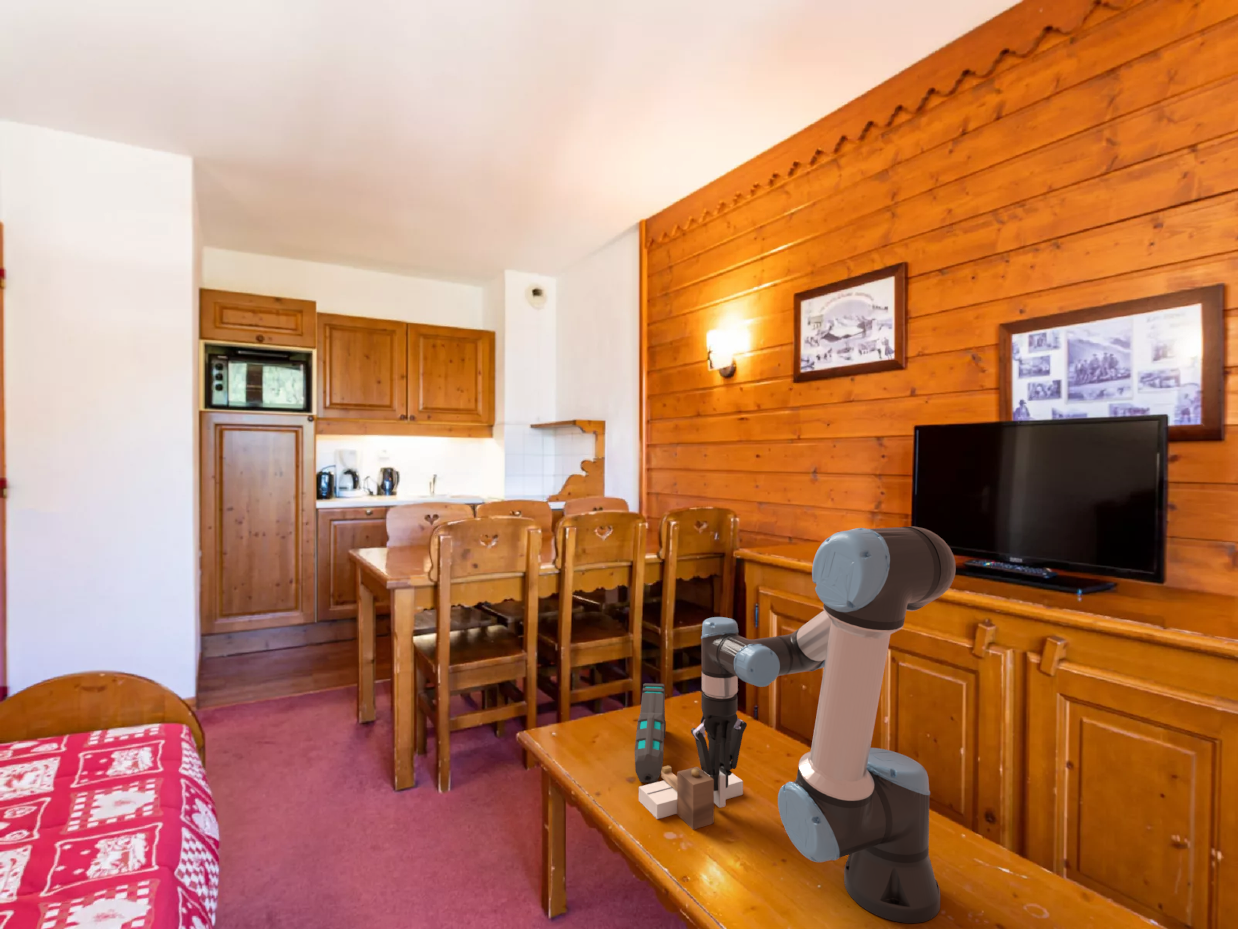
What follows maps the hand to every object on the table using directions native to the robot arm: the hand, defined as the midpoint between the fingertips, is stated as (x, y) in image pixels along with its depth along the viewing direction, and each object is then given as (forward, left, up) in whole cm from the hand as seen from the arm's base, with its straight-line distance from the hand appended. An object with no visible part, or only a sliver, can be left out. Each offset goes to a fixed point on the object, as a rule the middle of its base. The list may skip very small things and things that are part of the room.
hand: (718, 803), depth 133 cm
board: (+7, +2, -2) cm, 8 cm away
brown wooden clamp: (+5, +6, -2) cm, 8 cm away
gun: (+29, 0, -2) cm, 29 cm away
